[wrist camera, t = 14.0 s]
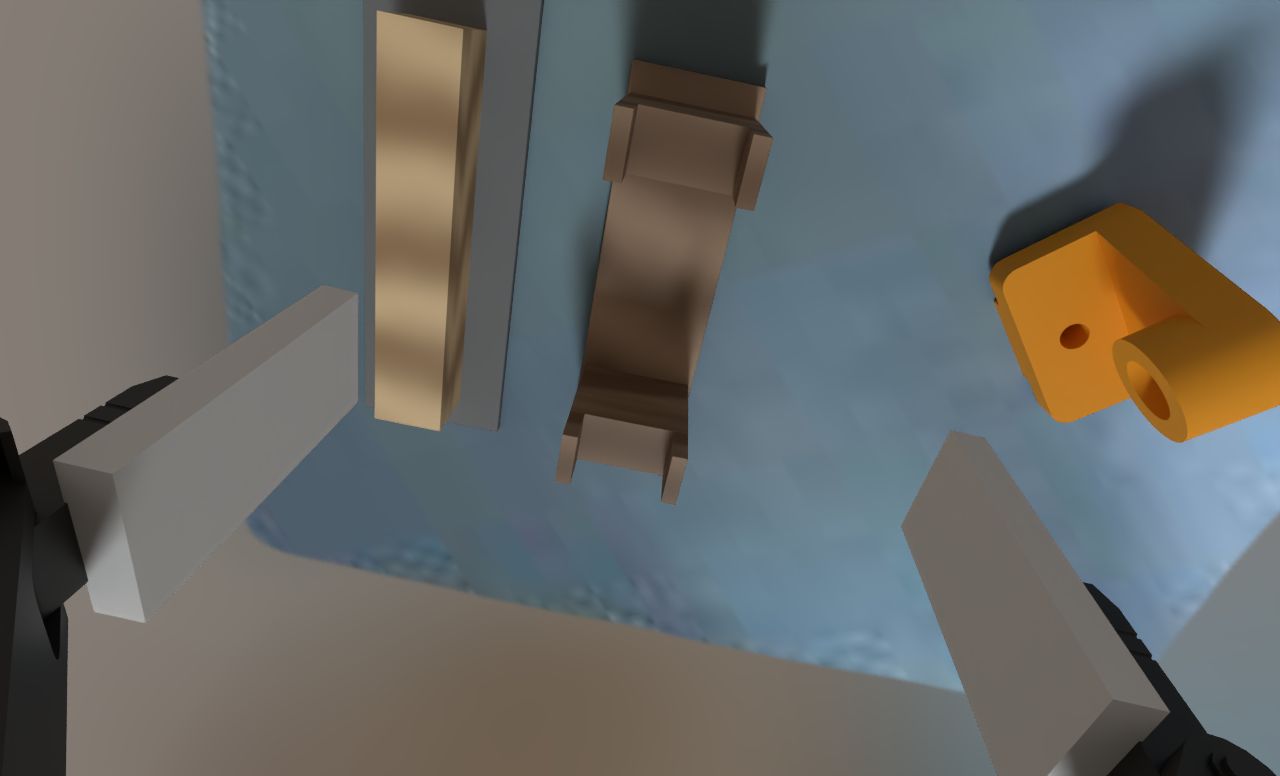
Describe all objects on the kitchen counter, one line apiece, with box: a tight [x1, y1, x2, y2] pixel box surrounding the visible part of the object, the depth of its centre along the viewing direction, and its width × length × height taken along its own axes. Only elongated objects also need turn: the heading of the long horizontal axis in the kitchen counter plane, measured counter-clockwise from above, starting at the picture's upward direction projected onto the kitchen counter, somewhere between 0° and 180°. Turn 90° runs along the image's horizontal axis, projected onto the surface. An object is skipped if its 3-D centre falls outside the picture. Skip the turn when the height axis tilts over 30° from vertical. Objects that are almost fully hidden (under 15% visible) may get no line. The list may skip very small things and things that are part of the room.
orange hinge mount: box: [989, 202, 1280, 443], centre depth 34 cm, size 11×7×12 cm, turn 31°
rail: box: [375, 10, 487, 431], centre depth 37 cm, size 22×4×4 cm, turn 169°
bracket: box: [555, 59, 773, 505], centre depth 36 cm, size 22×7×10 cm, turn 169°
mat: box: [363, 0, 544, 432], centre depth 39 cm, size 26×9×1 cm, turn 169°
